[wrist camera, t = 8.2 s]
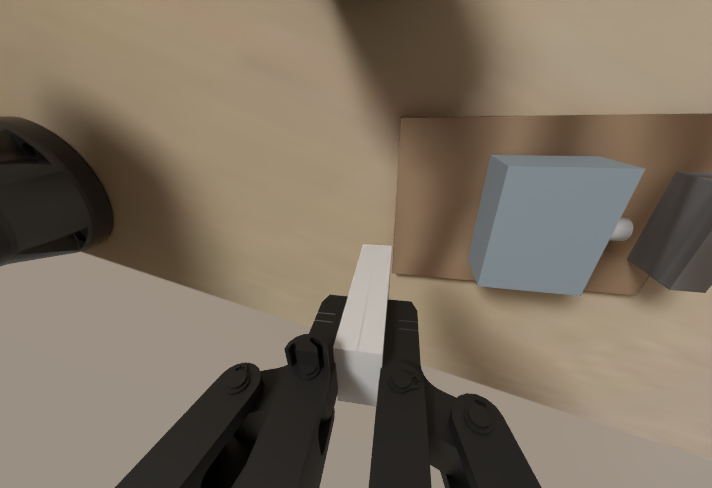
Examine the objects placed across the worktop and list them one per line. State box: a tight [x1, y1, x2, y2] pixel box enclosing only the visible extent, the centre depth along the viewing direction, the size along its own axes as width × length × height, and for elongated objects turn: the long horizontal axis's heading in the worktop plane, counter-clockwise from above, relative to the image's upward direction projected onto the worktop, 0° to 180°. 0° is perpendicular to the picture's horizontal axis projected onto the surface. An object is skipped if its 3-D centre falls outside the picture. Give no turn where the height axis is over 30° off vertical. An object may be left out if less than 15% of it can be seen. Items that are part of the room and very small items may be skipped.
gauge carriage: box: [468, 155, 645, 296], centre depth 19 cm, size 9×11×4 cm
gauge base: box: [392, 114, 712, 296], centre depth 19 cm, size 21×14×5 cm, turn 91°
